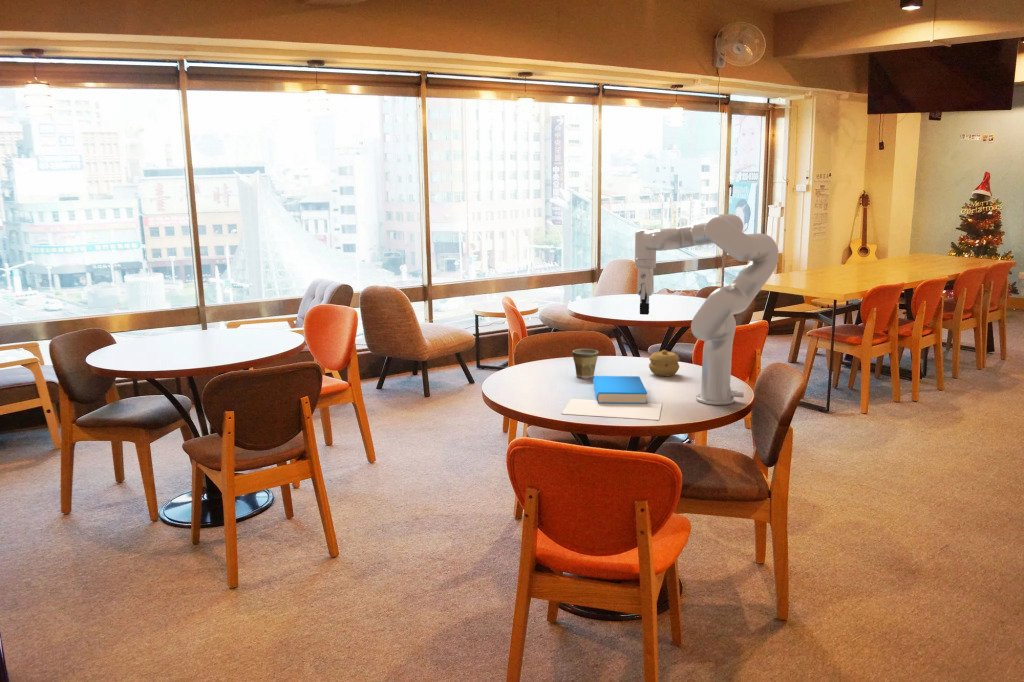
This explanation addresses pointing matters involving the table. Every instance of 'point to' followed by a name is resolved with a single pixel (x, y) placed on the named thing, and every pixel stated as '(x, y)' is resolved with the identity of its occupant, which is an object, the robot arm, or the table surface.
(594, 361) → the ceramic cup
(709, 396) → the robot arm
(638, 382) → the book
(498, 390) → the table surface
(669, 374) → the pot
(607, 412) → the mat
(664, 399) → the table surface
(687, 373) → the table surface
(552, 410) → the table surface
